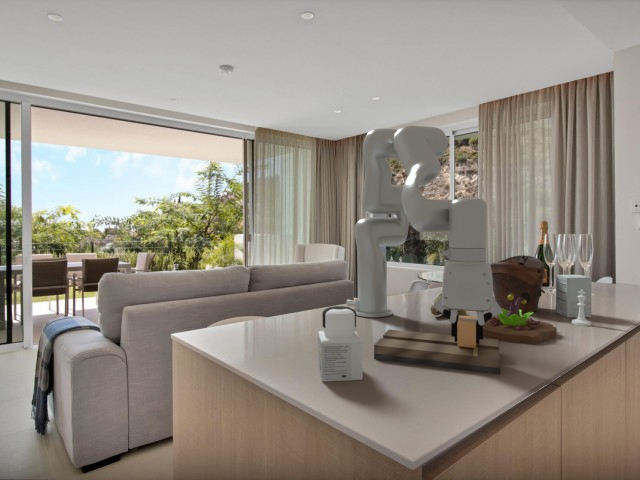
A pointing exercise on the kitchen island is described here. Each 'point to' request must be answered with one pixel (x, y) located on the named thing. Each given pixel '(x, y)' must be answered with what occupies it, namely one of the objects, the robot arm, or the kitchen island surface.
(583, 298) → the chess piece
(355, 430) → the kitchen island surface
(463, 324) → the fader tab
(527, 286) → the brown flower pot
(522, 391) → the kitchen island surface
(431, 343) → the slider console
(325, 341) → the container
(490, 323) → the plant
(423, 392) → the kitchen island surface
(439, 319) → the kitchen island surface
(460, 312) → the ceramic sculpture
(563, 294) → the supplement box
